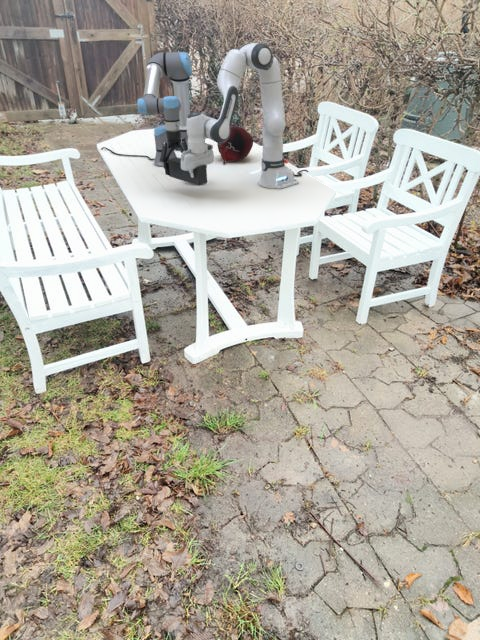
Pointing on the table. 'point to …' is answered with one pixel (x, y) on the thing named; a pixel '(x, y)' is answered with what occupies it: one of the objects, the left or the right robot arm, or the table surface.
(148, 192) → the table surface
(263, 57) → the right robot arm
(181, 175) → the box
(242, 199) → the table surface
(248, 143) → the dark red rounded piece
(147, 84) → the left robot arm
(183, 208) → the table surface
